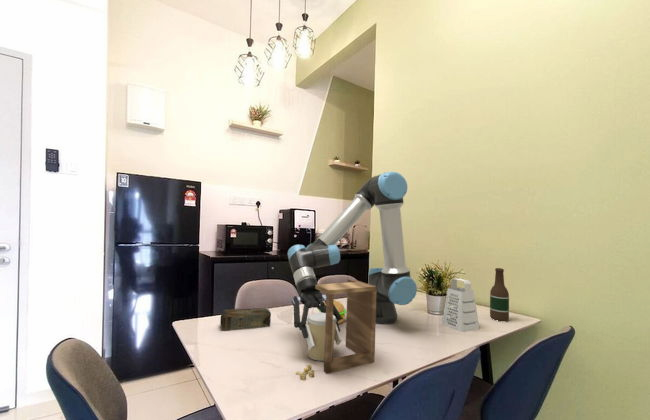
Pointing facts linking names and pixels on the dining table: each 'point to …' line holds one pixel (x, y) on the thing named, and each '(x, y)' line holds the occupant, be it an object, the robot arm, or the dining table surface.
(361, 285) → the shelf alcove
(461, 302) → the grater
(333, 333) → the coffee cup
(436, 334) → the dining table surface
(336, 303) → the hamburger
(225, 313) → the beverage carton
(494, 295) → the beer bottle
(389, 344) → the dining table surface
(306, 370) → the dice set
